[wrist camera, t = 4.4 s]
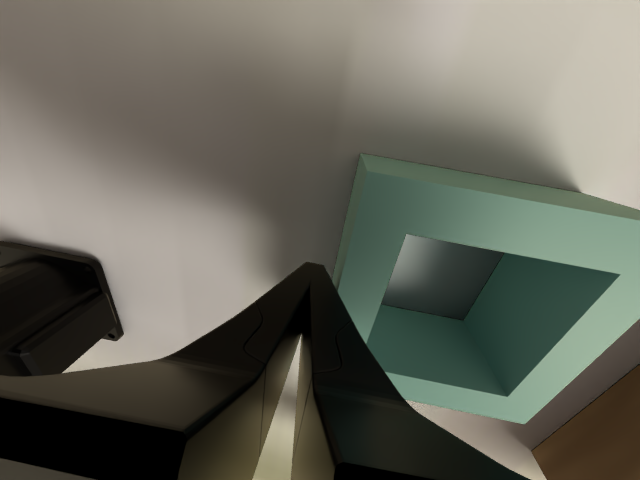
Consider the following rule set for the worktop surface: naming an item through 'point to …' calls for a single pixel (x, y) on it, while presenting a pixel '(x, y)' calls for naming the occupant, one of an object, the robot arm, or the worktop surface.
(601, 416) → the backstop wall
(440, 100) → the worktop surface
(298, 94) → the worktop surface
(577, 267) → the socket block
